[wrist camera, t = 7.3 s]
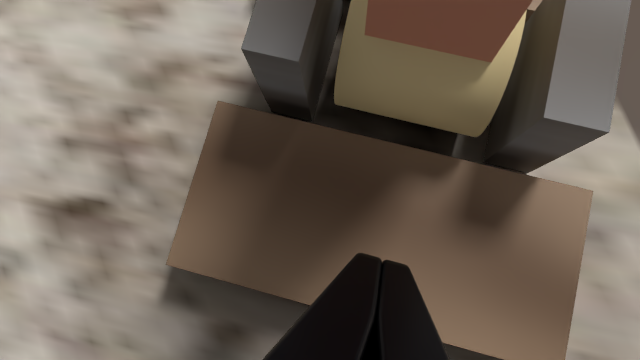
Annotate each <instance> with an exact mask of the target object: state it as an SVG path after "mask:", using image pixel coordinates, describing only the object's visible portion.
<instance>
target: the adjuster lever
mask: <svg viewBox="0 0 640 360" xmlns="http://www.w3.org/2000/svg"><path fill="white" fill-rule="evenodd" d="M532 1H533V0H351V3H350V7H349V11H348V15H347V19H346V24H345V28H344V33H343V38H342V43H341V48H340V53H339V59H338V65H337V71H336V79H335V88H334V102H335V104H336V105H340V106H344V107H348V108H353V109H357V110H361V111H365V112H370V113H374V114H378V115H382V116H387V117H391V118H395V119H399V120H404V121H408V122H412V123H416V124H421V125H425V126H429V127H434V128H438V129H442V130H446V131H451V132H455V133H459V134H463V135H468V136H472V137H478V136H479V135H480V134H482V132H483V131H484V130H485V129H486V127H487V126H488V124H489V122H490V121H491V119H492V117H493V115H494V113H495V111H496V109H497V107H498V105H499V103H500V101H501V98H502V96H503V93H504V91H505V89H506V86H507V83H508V81H509V78H510V75H511V72H512V69H513V66H514V63H515V60H516V57H517V53H518V49H519V46H520V42H521V38H522V34H523V29H524V24H525V18H526V12H527V8H528V7H529V5H530V4H531V2H532Z"/></svg>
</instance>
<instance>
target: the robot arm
mask: <svg viewBox="0 0 640 360" xmlns="http://www.w3.org/2000/svg"><path fill="white" fill-rule="evenodd" d="M263 360H450V358H449V356H448V354H447V352H446V349H445V347H444V345H443V343H442V340H441V338H440V336H439V333H438V331H437V329H436V327H435V324H434V322H433V320H432V318H431V315H430V313H429V311H428V309H427V306H426V304H425V302H424V300H423V297H422V295H421V293H420V291H419V288H418V286H417V284H416V281H415V279H414V277H413V275H412V272H411V270H410V268H409V267H408V266H407V265H405V264H402V263H398V262H395V261H391V260H384V261H383V262H382V260H381V259H380V258H379V257H376V256H372V255H368V254H364V253H358V254H356V255H355V256H354V257H353V258H352V259H351V261H350V262H349V263H348V264H347V265H346V266H345V267H344V268H343V270H342V271H341V272H340V273H339V274H338V275H337V276H336V277H335V279H334V280H333V281H332V282H331V283H330V284H329V285H328V286H327V288H326V289H325V290H324V291H323V292H322V293H321V294H320V295H319V297H318V298H317V299H316V300H315V301H314V302H313V303H312V304H311V306H310V307H309V308H308V309H307V310H306V311H305V312H304V313H303V315H302V316H301V317H300V318H299V319H298V320H297V321H296V322H295V324H294V325H293V326H292V327H291V328H290V329H289V330H288V331H287V333H286V334H285V335H284V336H283V337H282V338H281V339H280V340H279V342H278V343H277V344H276V345H275V346H274V347H273V348H272V349H271V351H270V352H269V353H268V354H267V355H266V356H265V357H264V358H263Z"/></svg>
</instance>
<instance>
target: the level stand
mask: <svg viewBox="0 0 640 360" xmlns="http://www.w3.org/2000/svg"><path fill="white" fill-rule="evenodd" d="M630 4H631V0H533V1H532V2H531V4H530V5H529V7H528V8H527V12H526V18H525V24H524V29H523V34H522V38H521V42H520V46H519V49H518V53H517V57H516V60H515V63H514V66H513V69H512V72H511V75H510V78H509V81H508V83H507V86H506V89H505V91H504V93H503V96H502V98H501V101H500V103H499V105H498V107H497V109H496V111H495V113H494V115H493V118H492V122H491V127H490V132H489V137H488V141H487V146H486V151H485V155H484V160H483V162H484V163H488V164H492V165H496V166H501V167H505V168H509V169H513V170H517V171H521V172H526V173H529V172H531V171H533V170H535V169H537V168H539V167H541V166H543V165H545V164H547V163H549V162H551V161H553V160H555V159H557V158H559V157H561V156H563V155H565V154H567V153H569V152H571V151H573V150H575V149H577V148H579V147H581V146H583V145H585V144H587V143H589V142H591V141H593V140H595V139H597V138H599V137H601V136H603V135H605V134H607V133H609V131H610V125H611V119H612V113H613V107H614V101H615V95H616V88H617V83H618V77H619V71H620V64H621V58H622V53H623V46H624V41H625V35H626V29H627V22H628V16H629V10H630ZM342 13H343V0H256V3H255V6H254V10H253V13H252V16H251V19H250V22H249V25H248V29H247V32H246V35H245V38H244V41H243V45H242V48H241V49H242V51H243V53H244V56H245V58H246V60H247V62H248V64H249V66H250V68H251V70H252V72H253V74H254V76H255V78H256V80H257V82H258V84H259V87H260V89H261V91H262V93H263V95H264V97H265V99H266V101H267V103H268V105H269V107H270V109H271V111H272V112H275V113H280V114H284V115H288V116H292V117H296V118H300V119H305V120H309V121H313V117H314V114H315V110H316V106H317V103H318V99H319V96H320V92H321V89H322V85H323V81H324V78H325V74H326V71H327V67H328V63H329V60H330V56H331V53H332V49H333V45H334V42H335V38H336V35H337V31H338V28H339V24H340V20H341V17H342ZM592 195H593V191H591V190H587V189H583V188H579V187H574V186H570V185H566V184H562V183H558V182H554V181H549V180H545V179H541V178H537V177H533V176H529V175H525V174H520V173H516V172H512V171H508V170H504V169H500V168H495V167H491V166H487V165H483V164H479V163H475V162H470V161H466V160H462V159H458V158H454V157H450V156H445V155H441V154H437V153H433V152H429V151H425V150H421V149H416V148H412V147H408V146H404V145H400V144H396V143H391V142H387V141H383V140H379V139H375V138H371V137H366V136H362V135H358V134H354V133H350V132H346V131H341V130H337V129H333V128H329V127H325V126H321V125H317V124H312V123H308V122H304V121H300V120H296V119H292V118H287V117H283V116H279V115H275V114H271V113H267V112H262V111H258V110H254V109H250V108H246V107H242V106H238V105H233V104H229V103H225V102H221V101H218V102H217V105H216V108H215V111H214V114H213V117H212V120H211V124H210V127H209V130H208V133H207V136H206V139H205V143H204V146H203V149H202V152H201V155H200V158H199V161H198V165H197V168H196V171H195V174H194V177H193V180H192V184H191V187H190V190H189V193H188V196H187V199H186V202H185V206H184V209H183V212H182V215H181V218H180V221H179V225H178V228H177V231H176V234H175V237H174V240H173V244H172V247H171V250H170V253H169V256H168V259H167V262H166V265H169V266H173V267H176V268H180V269H183V270H187V271H190V272H194V273H197V274H201V275H205V276H208V277H212V278H215V279H219V280H222V281H226V282H229V283H233V284H237V285H240V286H244V287H247V288H251V289H254V290H258V291H262V292H265V293H269V294H272V295H276V296H279V297H283V298H286V299H290V300H294V301H297V302H301V303H304V304H308V305H311V304H312V303H313V302H314V301H315V300H316V299H317V298H318V297H319V295H320V294H321V293H322V292H323V291H324V290H325V289H326V288H327V286H328V285H329V284H330V283H331V282H332V281H333V280H334V279H335V277H336V276H337V275H338V274H339V273H340V272H341V271H342V270H343V268H344V267H345V266H346V265H347V264H348V263H349V262H350V261H351V259H352V258H353V257H354V256H355V255H356V254H358V253H364V254H368V255H372V256H376V257H379V258H380V259H381V260H382V262H383V261H384V260H391V261H395V262H398V263H402V264H405V265H407V266H408V267H409V268H410V270H411V272H412V275H413V277H414V279H415V281H416V284H417V286H418V288H419V291H420V293H421V295H422V297H423V300H424V302H425V304H426V306H427V309H428V311H429V313H430V315H431V318H432V320H433V322H434V324H435V327H436V329H437V331H438V333H439V336H440V338H441V340H442V342H443V343H446V344H450V345H454V346H457V347H461V348H464V349H468V350H471V351H475V352H478V353H482V354H486V355H489V356H493V357H496V358H500V359H503V360H565V356H566V350H567V344H568V338H569V332H570V326H571V320H572V314H573V308H574V303H575V297H576V291H577V285H578V279H579V273H580V267H581V261H582V255H583V249H584V243H585V237H586V231H587V225H588V219H589V213H590V207H591V201H592Z"/></svg>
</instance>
